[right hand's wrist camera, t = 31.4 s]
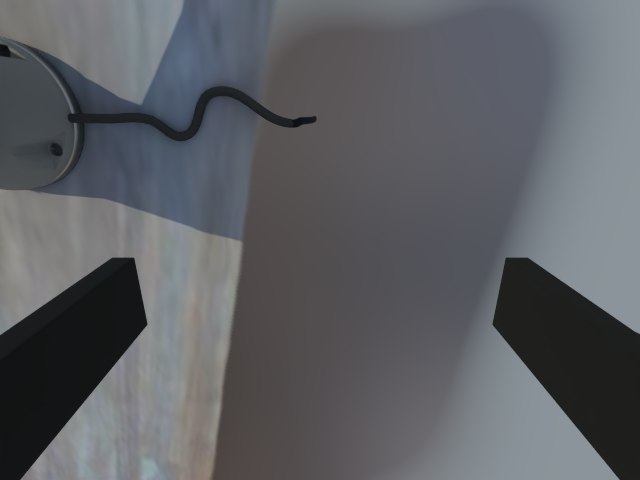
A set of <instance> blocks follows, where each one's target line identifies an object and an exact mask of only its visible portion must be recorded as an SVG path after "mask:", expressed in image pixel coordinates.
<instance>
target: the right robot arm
mask: <svg viewBox="0 0 640 480" xmlns="http://www.w3.org/2000/svg"><path fill="white" fill-rule="evenodd" d="M216 96H228V97H232V98H234V99H237V100H238V101H240V102H242V103H243V104H245V105H246V106H248V107H249V108H251V109H252V110H253V111H255V112H256V113H257V114H259V115H260V116H262V117H263V118H265V119H266V120H268V121H270V122H272V123H274V124H277V125H280V126H283V127H289V128H296V127H299V126H301V125H304V124H311V123H314V122H316V120H317V117H316V116H313V117H299V118H297V119H287V118H283V117H280V116H278V115H276V114H274V113H272V112H270V111H269V110H267V109H266V108H264V107H263V106H261V105H260V104H259V103H257V102H256V101H255V100H253V99H252V98H250V97H249V96H247V95H246V94H244V93H243V92H241V91H239V90H236V89H234V88H230V87H222V86H219V87H213V88H211V89H208V90H206V91H205V92H204V93H203V94H202V95H201V97H200V98H199V100H198V102H197V105H196V109H195V112H194V116H193V120H192V123H191V125H190V127H189V128H188V130H186V131H184V132H176V131H174V130H172V129H171V128H169V127H168V126H167V125H166V124H164V123H163V122H162V121H160V120H159V119H157V118H155V117H153V116H150V115H146V114H140V113H122V114H81V112H80V109H79V106H78V103H77V101H76V99H75V96H74V94H73V93H72V91H71V89H70V87H69V86H68V84H67V83H66V81H65V80H64V78H63V77H62V76H61V74H60V73H59V72H58V71H57V70H56V69H55V68H54V67H53V66H52V65H51V64H50V63H49V62H48V61H47V60H46V59H45V58H43V57H42V56H41V55H39V54H38V53H37V52H35V51H34V50H32V49H30V48H29V47H27V46H25V45H23V44H21V43H19V42H16V41H13V40H11V39H7V38H3V37H0V189H5V190H29V189H35V188H39V187H43V186H46V185H50V184H53V183H55V182H57V181H59V180H61V179H62V178H63V177H65V176H66V175H67V174H68V173H69V172H70V171H71V170H72V169H73V167H74V166H75V164H76V163H77V161H78V159H79V157H80V154H81V151H82V146H83V139H84V129H83V123H125V122H141V123H147V124H150V125H152V126H154V127H156V128H157V129H159V130H160V131H161V132H162V133H164V134H165V135H166V136H168V137H169V138H171V139H173V140H177V141H185V140H188V139H190V138H192V137H193V136H194V135H195V134H196V133H197V131H198V129H199V127H200V125H201V121H202V118H203V114H204V110H205V107H206V105H207V103H208V102H209V100H210V99H211V98H213V97H216ZM147 325H148V324H147V319H146V315H145V310H144V305H143V300H142V295H141V290H140V285H139V280H138V275H137V270H136V265H135V260H134V258H111V259H110V260H108V261H107V262H105V263H104V264H103V265H101V266H100V267H98V268H97V269H95V270H94V271H92V272H91V273H90V274H88V275H87V276H85V277H84V278H82V279H81V280H79V281H78V282H77V283H75V284H74V285H72V286H71V287H69V288H68V289H66V290H65V291H64V292H62V293H61V294H59V295H58V296H56V297H55V298H53V299H52V300H51V301H49V302H48V303H46V304H45V305H43V306H42V307H40V308H39V309H37V310H36V311H35V312H33V313H32V314H30V315H29V316H27V317H26V318H24V319H23V320H22V321H20V322H19V323H17V324H16V325H14V326H13V327H11V328H10V329H9V330H7V331H6V332H4V333H3V334H1V335H0V480H20V479H21V478H22V477H23V476H24V474H25V473H26V472H27V471H28V470H29V468H30V467H31V466H32V465H33V464H34V462H35V461H36V460H37V459H38V457H39V456H40V455H41V454H42V453H43V451H44V450H45V449H46V448H47V446H48V445H49V444H50V443H51V442H52V440H53V439H54V438H55V437H56V435H57V434H58V433H59V432H60V431H61V429H62V428H63V427H64V426H65V424H66V423H67V422H68V421H69V420H70V418H71V417H72V416H73V415H74V414H75V412H76V411H77V410H78V409H79V407H80V406H81V405H82V404H83V403H84V401H85V400H86V399H87V398H88V396H89V395H90V394H91V393H92V392H93V390H94V389H95V388H96V387H97V385H98V384H99V383H100V382H101V381H102V379H103V378H104V377H105V376H106V375H107V373H108V372H109V371H110V370H111V368H112V367H113V366H114V365H115V364H116V362H117V361H118V360H119V359H120V357H121V356H122V355H123V354H124V353H125V351H126V350H127V349H128V348H129V346H130V345H131V344H132V343H133V342H134V340H135V339H136V338H137V337H138V335H139V334H140V333H141V332H142V331H143V329H144V328H145V327H146V326H147ZM493 326H494V327H495V328H496V329H497V331H498V332H499V333H500V334H501V335H502V337H503V338H504V339H505V340H506V342H507V343H508V344H509V345H510V346H511V348H512V349H513V350H514V351H515V353H516V354H517V355H518V356H519V357H520V359H521V360H522V361H523V362H524V364H525V365H526V366H527V367H528V368H529V370H530V371H531V372H532V373H533V375H534V376H535V377H536V378H537V379H538V381H539V382H540V383H541V384H542V385H543V387H544V388H545V389H546V390H547V392H548V393H549V394H550V395H551V396H552V398H553V399H554V400H555V401H556V403H557V404H558V405H559V406H560V407H561V409H562V410H563V411H564V412H565V414H566V415H567V416H568V417H569V418H570V420H571V421H572V422H573V423H574V424H575V426H576V427H577V428H578V429H579V431H580V432H581V433H582V434H583V435H584V437H585V438H586V439H587V440H588V442H589V443H590V444H591V445H592V446H593V448H594V449H595V450H596V451H597V453H598V454H599V455H600V456H601V457H602V459H603V460H604V461H605V462H606V464H607V465H608V466H609V467H610V468H611V470H612V471H613V472H614V473H615V474H616V476H617V477H618V478H619V479H620V480H640V334H638V333H636V332H634V331H633V330H631V329H630V328H629V327H627V326H626V325H624V324H623V323H621V322H620V321H618V320H617V319H615V318H614V317H613V316H611V315H610V314H608V313H607V312H605V311H604V310H603V309H601V308H600V307H598V306H597V305H595V304H594V303H592V302H591V301H589V300H588V299H587V298H585V297H584V296H582V295H581V294H579V293H578V292H576V291H575V290H574V289H572V288H571V287H569V286H568V285H566V284H565V283H563V282H562V281H560V280H559V279H558V278H556V277H555V276H553V275H552V274H550V273H549V272H547V271H546V270H545V269H543V268H542V267H540V266H539V265H537V264H536V263H534V262H533V261H532V260H530V259H529V258H506V260H505V265H504V270H503V275H502V280H501V285H500V290H499V295H498V300H497V305H496V310H495V315H494V320H493Z"/></svg>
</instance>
